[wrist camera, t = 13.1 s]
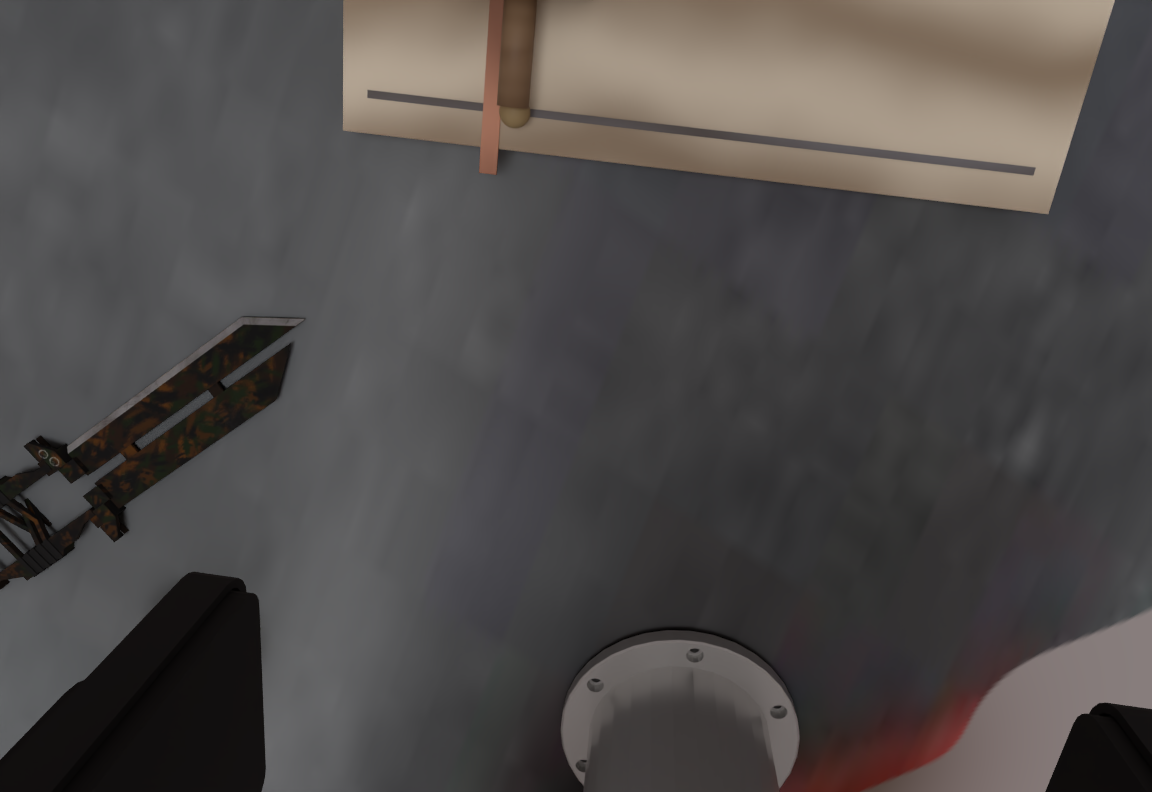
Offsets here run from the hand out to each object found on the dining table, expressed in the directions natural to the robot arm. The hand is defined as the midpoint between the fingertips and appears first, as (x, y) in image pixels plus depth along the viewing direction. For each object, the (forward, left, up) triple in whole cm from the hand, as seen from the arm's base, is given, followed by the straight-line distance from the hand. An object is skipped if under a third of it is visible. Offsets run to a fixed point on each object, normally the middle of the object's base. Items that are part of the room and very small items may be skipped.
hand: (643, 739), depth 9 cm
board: (+10, -1, -28) cm, 30 cm away
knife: (-13, +25, -29) cm, 41 cm away
